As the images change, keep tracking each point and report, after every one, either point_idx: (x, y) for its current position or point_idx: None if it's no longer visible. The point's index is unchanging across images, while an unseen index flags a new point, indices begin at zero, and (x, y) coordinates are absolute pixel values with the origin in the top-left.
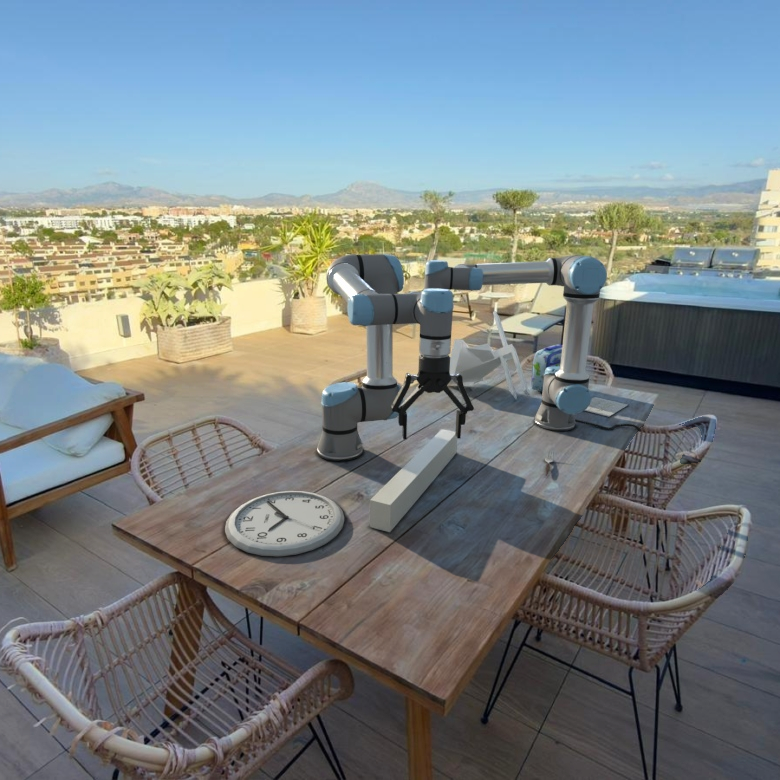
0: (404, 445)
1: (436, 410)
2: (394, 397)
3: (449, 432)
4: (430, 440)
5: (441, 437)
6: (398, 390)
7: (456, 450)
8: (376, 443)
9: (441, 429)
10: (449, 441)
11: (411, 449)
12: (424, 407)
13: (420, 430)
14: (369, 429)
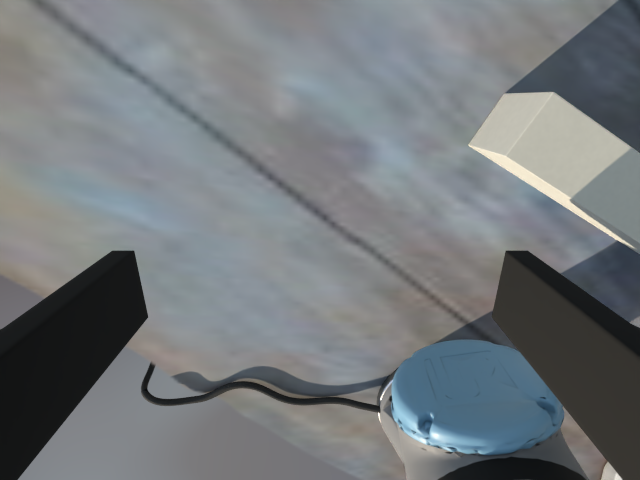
0: (411, 252)
1: (59, 89)
2: (560, 428)
3: (549, 130)
4: (604, 218)
5: (590, 173)
6: (548, 435)
7: (510, 93)
8: (387, 322)
9: (508, 158)
10: (629, 146)
11: (444, 235)
12: (33, 137)
13: (290, 188)
14: (281, 335)
